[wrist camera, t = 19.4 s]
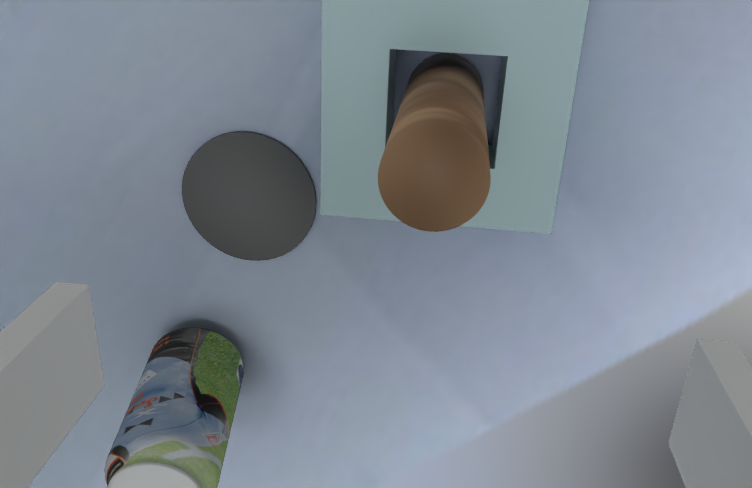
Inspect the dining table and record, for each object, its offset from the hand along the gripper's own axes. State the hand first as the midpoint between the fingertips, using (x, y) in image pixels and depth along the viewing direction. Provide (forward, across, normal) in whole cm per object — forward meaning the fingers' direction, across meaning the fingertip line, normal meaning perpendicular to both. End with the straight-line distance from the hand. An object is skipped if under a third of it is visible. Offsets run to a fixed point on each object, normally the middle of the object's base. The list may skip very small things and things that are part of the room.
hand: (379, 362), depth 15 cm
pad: (+25, -10, -6) cm, 28 cm away
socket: (+25, +1, 0) cm, 25 cm away
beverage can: (+25, -13, -18) cm, 34 cm away
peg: (+25, +1, 0) cm, 25 cm away
